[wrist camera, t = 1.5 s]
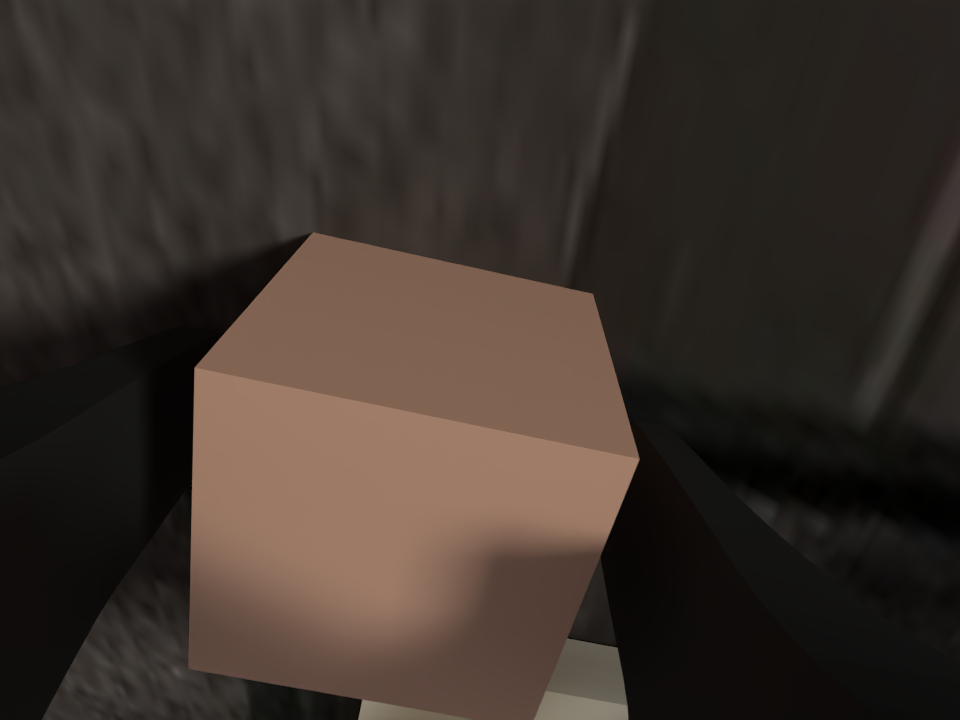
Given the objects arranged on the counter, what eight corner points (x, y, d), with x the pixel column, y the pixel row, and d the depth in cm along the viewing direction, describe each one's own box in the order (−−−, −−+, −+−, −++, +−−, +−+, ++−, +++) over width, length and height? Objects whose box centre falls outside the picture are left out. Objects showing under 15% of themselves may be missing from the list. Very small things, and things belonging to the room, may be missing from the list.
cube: (592, 292, 12) (639, 459, 8) (524, 505, 14) (530, 728, 10) (314, 230, 12) (194, 367, 7) (290, 459, 14) (188, 668, 10)
